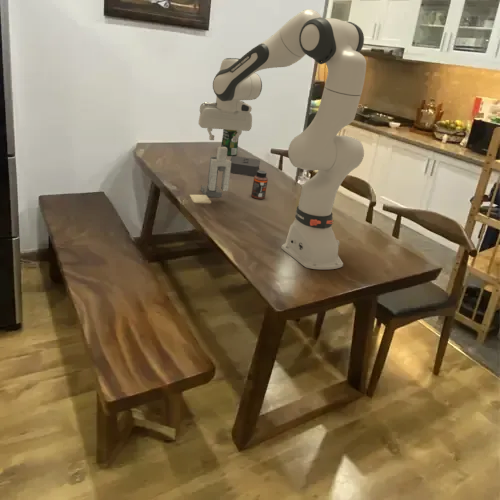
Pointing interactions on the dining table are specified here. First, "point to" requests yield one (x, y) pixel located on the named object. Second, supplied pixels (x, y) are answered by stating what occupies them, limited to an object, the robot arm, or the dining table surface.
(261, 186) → the supplement bottle
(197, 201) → the felt pad
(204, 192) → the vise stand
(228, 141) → the coffee jar
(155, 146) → the dining table surface
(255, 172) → the streaming box
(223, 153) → the pale upright frame
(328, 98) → the robot arm
